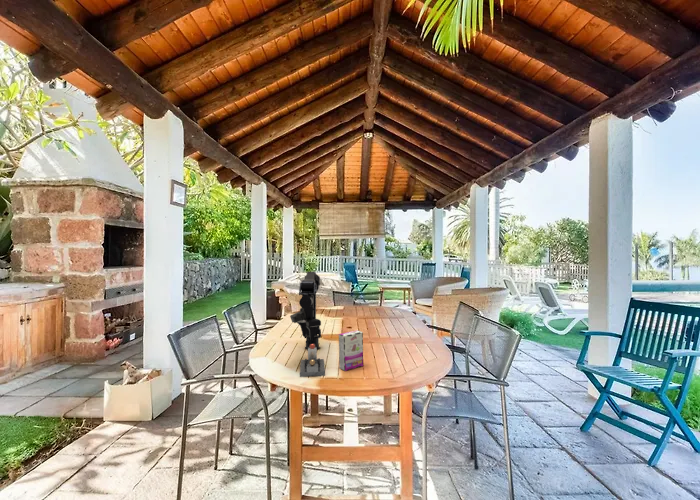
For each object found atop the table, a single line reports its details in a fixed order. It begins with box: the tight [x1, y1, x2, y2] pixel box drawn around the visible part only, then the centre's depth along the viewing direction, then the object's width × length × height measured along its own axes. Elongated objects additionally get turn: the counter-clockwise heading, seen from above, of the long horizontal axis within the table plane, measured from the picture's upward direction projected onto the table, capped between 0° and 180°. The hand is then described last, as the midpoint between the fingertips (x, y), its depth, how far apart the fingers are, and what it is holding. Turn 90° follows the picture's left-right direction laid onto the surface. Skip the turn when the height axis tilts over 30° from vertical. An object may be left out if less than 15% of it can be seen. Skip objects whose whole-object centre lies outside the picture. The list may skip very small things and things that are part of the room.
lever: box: [307, 344, 318, 363], centre depth 157 cm, size 3×4×9 cm, turn 96°
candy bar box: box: [338, 330, 364, 372], centre depth 161 cm, size 11×5×16 cm, turn 126°
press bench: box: [299, 357, 326, 378], centre depth 158 cm, size 16×11×7 cm, turn 6°
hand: (307, 338), depth 166 cm, fingers open, 9 cm apart
